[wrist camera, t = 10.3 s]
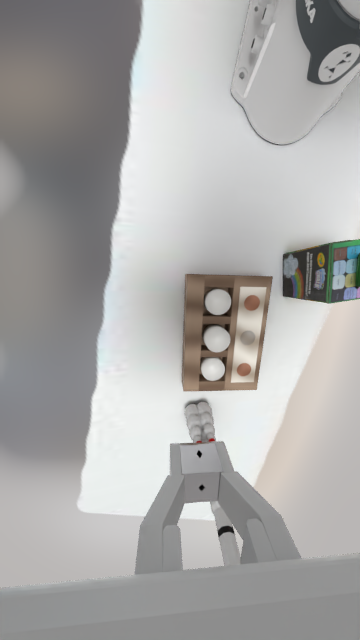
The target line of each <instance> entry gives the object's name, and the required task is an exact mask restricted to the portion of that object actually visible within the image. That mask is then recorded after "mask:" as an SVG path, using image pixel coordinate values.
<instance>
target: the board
mask: <svg viewBox="0 0 360 640" xmlns="http://www.w3.org/2000/svg"><path fill="white" fill-rule="evenodd" d="M271 284H272V276H236V275H200V274H185V302H184V333H183V365H182V384H183V391H222V390H257V383H258V376H259V369H260V362H261V355H262V348H263V341H264V334H265V327H266V320H267V313H268V305H269V298H270V291H271ZM211 289H220V290H224V291H226V292H227V293H228V294H229V295H230V298H231V306H230V308H229V309H228V311H227V312H225V313H224V314H221V315H214V314H212V313H210V312H209V311H208V310H207V309H206V308H205V307H204V305H203V302H204V295H205V293H206V292H207V291H209V290H211ZM212 324H217V325H220V326H222V327H223V328H224V329H225V330H226V331H227V332H228V333H229V335H230V344H229V346H228V347H227V348H226V349H225V350H224V351H222V352H212V351H211V350H209V349H208V348H207V346H206V344H205V343H204V341H203V338H202V334H203V331H204V330H205V328H206V327H207V326H209V325H212ZM202 357H219V358H220V360H221V361H222V363H223V364H224V366H225V372H224V375H223V376H222V377H221V378H220V379H218V380H215V381H210V380H207V379H206V378H205V377H204V376H203V374H202V372H201V369H200V360H201V358H202Z"/></svg>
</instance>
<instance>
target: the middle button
mask: <svg viewBox="0 0 360 640" xmlns="http://www.w3.org/2000/svg"><path fill="white" fill-rule="evenodd" d="M202 338H203V341H204V343H205V344H206V346H207V348H208V349H209V350H211V351H212V352H222V351H224V350H225V349H226V348H227V347H228V346H229V344H230V335H229V333H228V332H227V331H226V330H225V329H224V328H223V327H222V326H220V325H217V324H212V325H209V326H207V327H206V328H205V330H204V331H203V334H202Z"/></svg>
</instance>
